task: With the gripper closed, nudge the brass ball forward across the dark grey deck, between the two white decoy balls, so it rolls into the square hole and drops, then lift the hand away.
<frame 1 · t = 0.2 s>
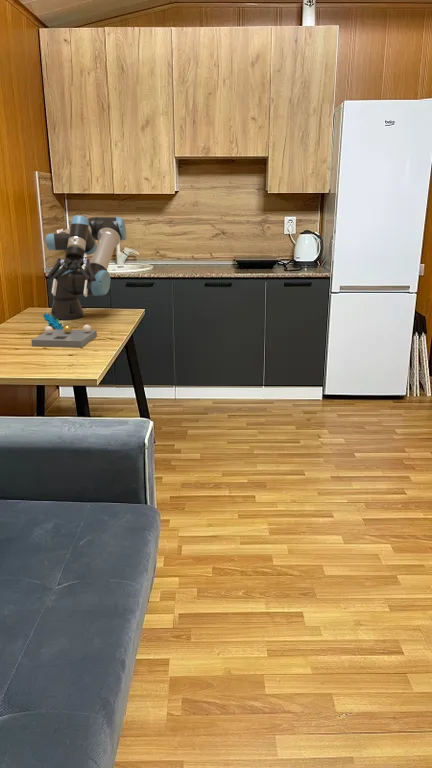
hand: (69, 294, 236), 16 cm above the table, tool tilted 35°, fingers open, 13 cm apart
ball: (67, 329, 226), point 4 cm above the table, touching deck
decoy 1: (48, 330, 225), point 4 cm above the table, touching deck
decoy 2: (87, 328, 227), point 4 cm above the table, touching deck
gear: (54, 330, 243), on the table
deck: (65, 341, 224), on the table
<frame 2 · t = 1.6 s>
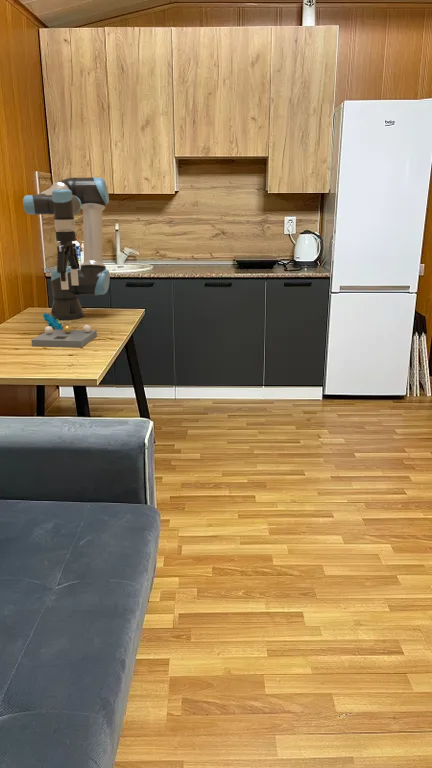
hand: (70, 287, 228), 20 cm above the table, tool pointing down, fingers open, 10 cm apart
nothing on the table moved.
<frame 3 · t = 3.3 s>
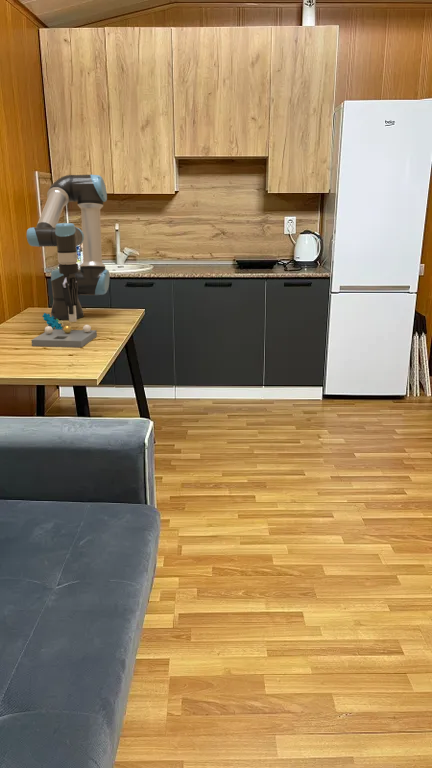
hand: (73, 321, 232), 6 cm above the table, tool pointing down, fingers closed
nothing on the table moved.
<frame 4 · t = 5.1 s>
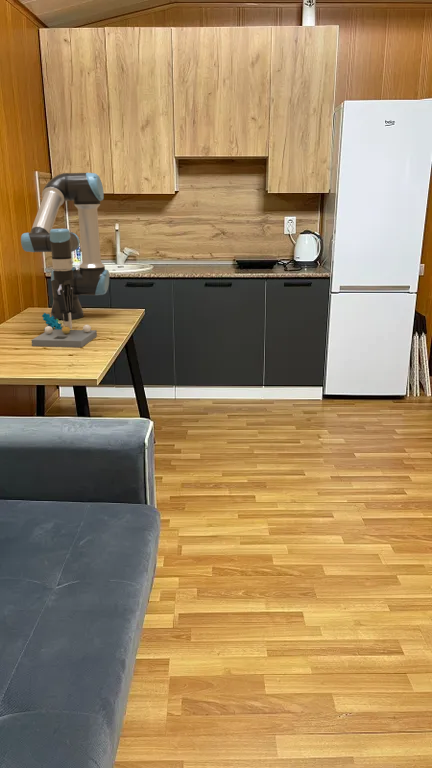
hand: (68, 328, 227), 4 cm above the table, tool pointing down, fingers closed
ball: (66, 330, 225), point 4 cm above the table, tilted 51°, touching deck
everything else where it was.
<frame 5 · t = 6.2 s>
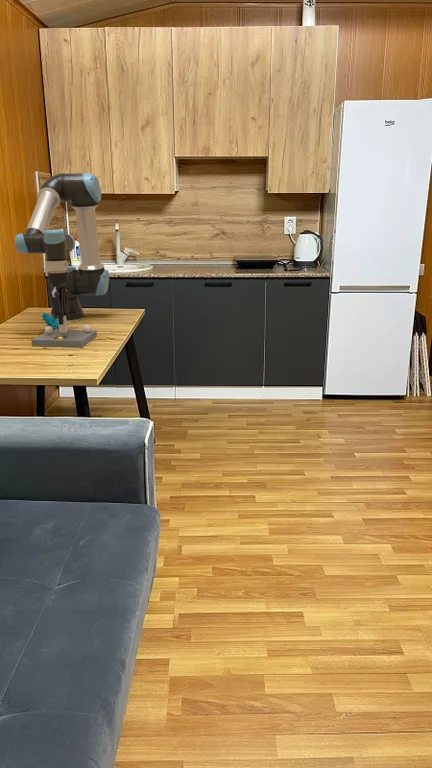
hand: (63, 332, 222), 4 cm above the table, tool pointing down, fingers closed
ball: (60, 340, 219), point 2 cm above the table, tilted 39°
everything else where it was.
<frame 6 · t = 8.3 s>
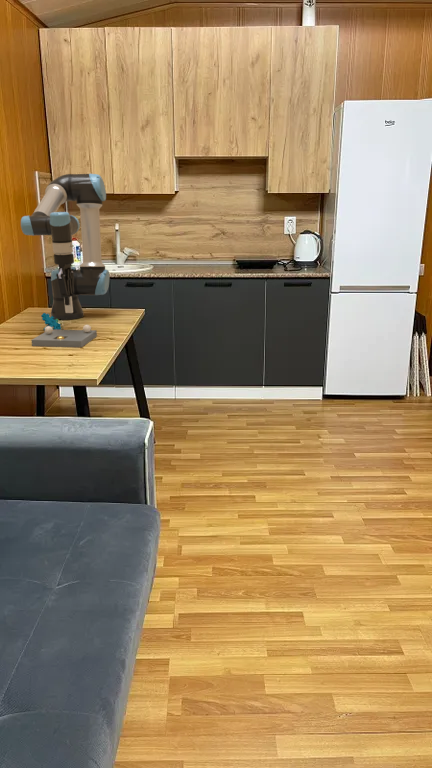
hand: (69, 312, 228), 10 cm above the table, tool pointing down, fingers closed
ball: (60, 340, 220), point 2 cm above the table, tilted 52°
everything else where it was.
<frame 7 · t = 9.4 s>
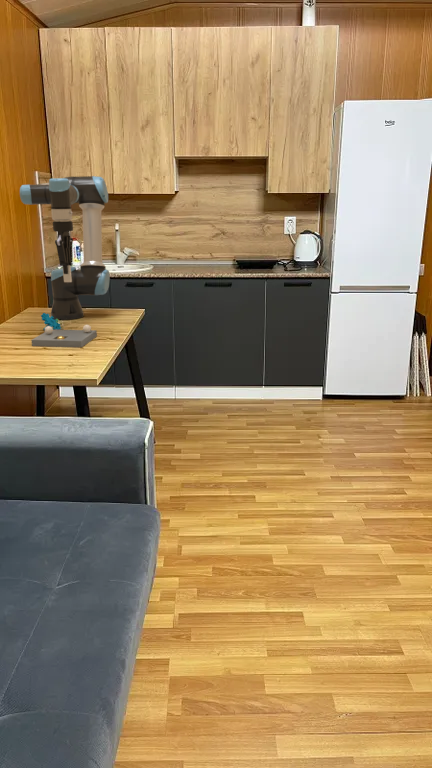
hand: (67, 281, 225), 22 cm above the table, tool pointing down, fingers closed
ball: (60, 339, 220), point 2 cm above the table, tilted 59°
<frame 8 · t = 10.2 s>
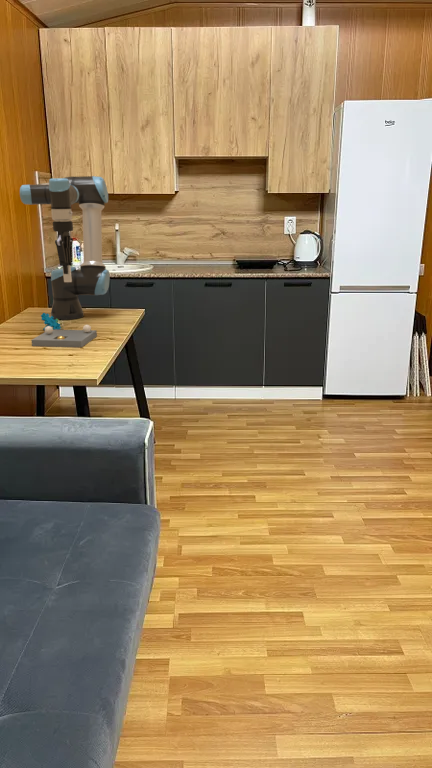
hand: (67, 281, 225), 22 cm above the table, tool pointing down, fingers closed
at the end: ball 0.1 cm from the target spot on the deck, point 1.6 cm above the deck's base; ball point 1.6 cm above the table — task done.
